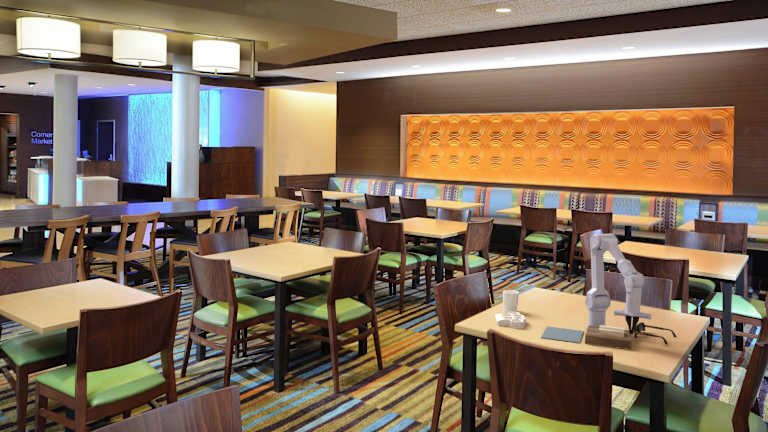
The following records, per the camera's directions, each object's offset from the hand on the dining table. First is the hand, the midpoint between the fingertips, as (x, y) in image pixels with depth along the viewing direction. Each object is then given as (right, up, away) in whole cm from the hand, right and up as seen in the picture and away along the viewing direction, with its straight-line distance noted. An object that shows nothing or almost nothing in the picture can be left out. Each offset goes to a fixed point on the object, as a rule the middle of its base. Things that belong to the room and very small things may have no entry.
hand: (631, 333), depth 255 cm
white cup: (-41, +2, +49) cm, 64 cm away
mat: (-26, -3, +11) cm, 28 cm away
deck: (-8, -4, +4) cm, 10 cm away
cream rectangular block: (-7, 0, +3) cm, 8 cm away
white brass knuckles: (-44, -1, +29) cm, 53 cm away
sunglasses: (+14, -4, +10) cm, 17 cm away
